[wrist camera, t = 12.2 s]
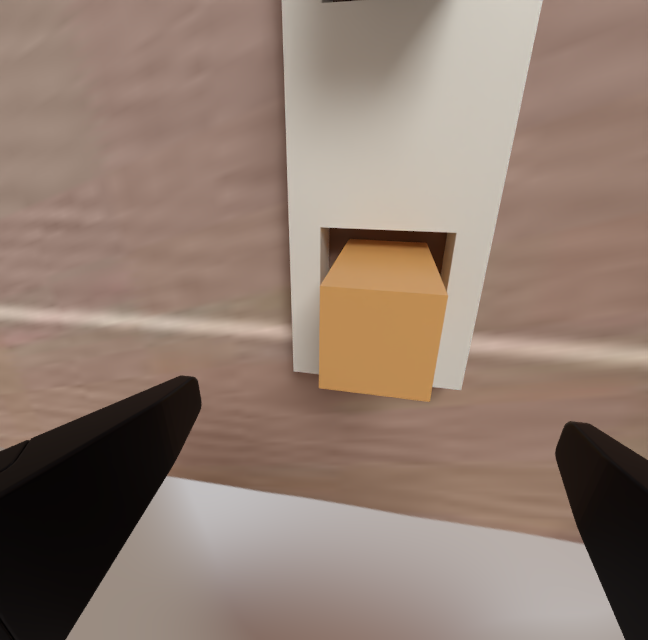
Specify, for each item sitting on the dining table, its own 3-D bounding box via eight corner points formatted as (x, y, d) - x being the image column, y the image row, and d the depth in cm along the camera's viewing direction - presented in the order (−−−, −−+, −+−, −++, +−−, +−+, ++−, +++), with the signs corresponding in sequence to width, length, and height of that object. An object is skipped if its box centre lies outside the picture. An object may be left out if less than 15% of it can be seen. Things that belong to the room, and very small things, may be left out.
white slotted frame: (453, 365, 20) (461, 390, 18) (304, 350, 22) (293, 371, 19) (585, -325, 10) (639, -461, 8) (293, -266, 12) (270, -368, 9)
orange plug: (416, 314, 19) (429, 401, 12) (346, 308, 20) (318, 388, 13) (426, 242, 18) (448, 295, 10) (349, 238, 18) (319, 286, 11)
